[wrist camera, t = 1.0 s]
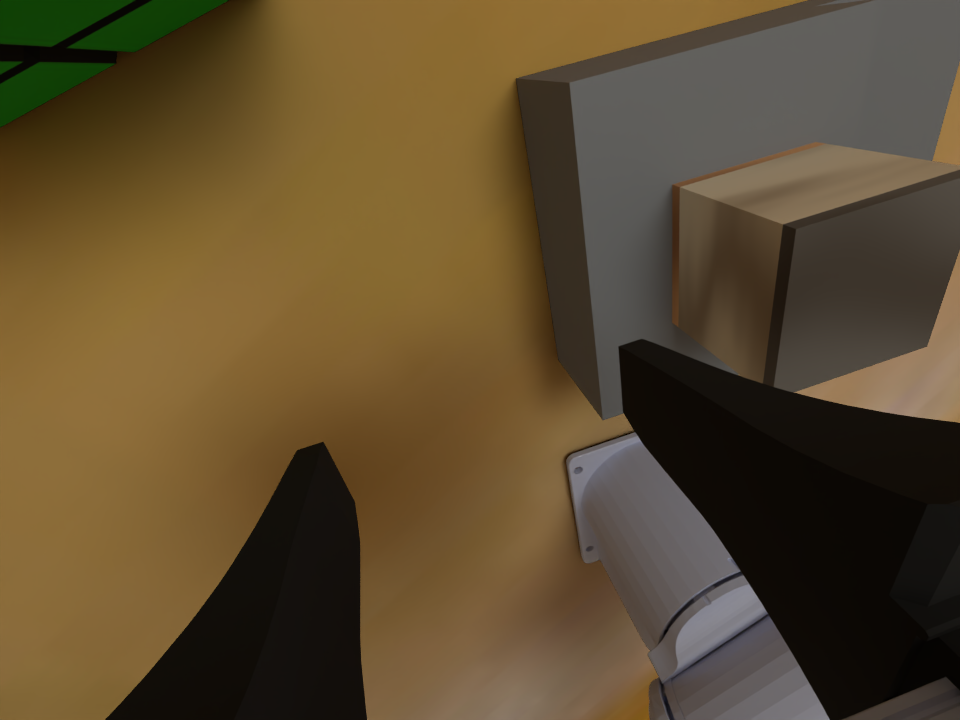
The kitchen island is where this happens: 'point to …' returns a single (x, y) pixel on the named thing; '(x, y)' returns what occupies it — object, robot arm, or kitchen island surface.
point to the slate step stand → (707, 147)
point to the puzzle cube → (76, 42)
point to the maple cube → (814, 260)
